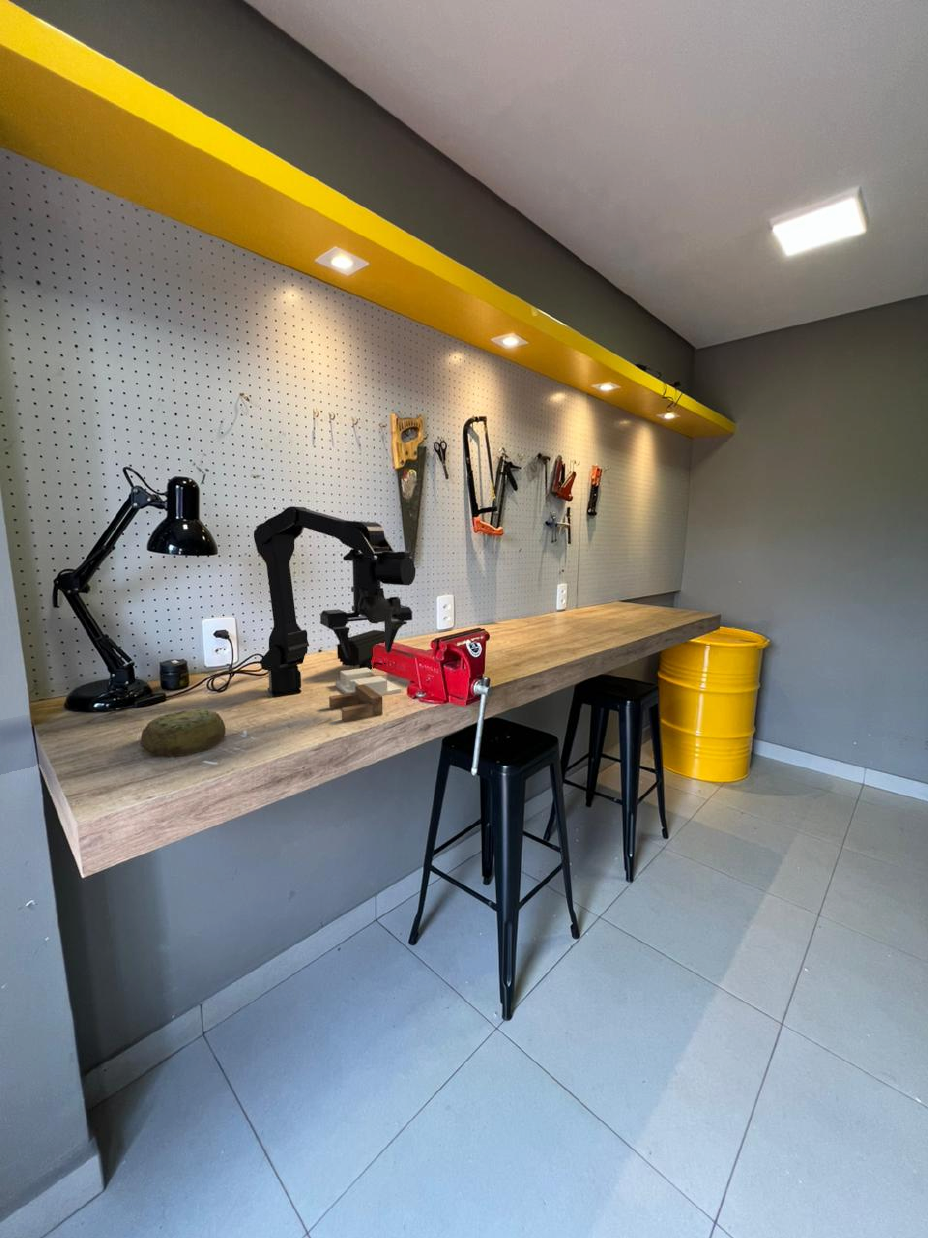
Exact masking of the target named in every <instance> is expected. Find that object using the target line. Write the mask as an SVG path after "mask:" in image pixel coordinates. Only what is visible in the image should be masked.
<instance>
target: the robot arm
mask: <svg viewBox="0 0 928 1238" xmlns="http://www.w3.org/2000/svg"><path fill="white" fill-rule="evenodd" d="M304 529H307V530H310V531H314V532H318V533H319V534H323V535H327V536H330V537H333V538H336V539H337V540H339V541H340V542H341V543H342V545H345V546H346V547H348V548H350V549H349V552H348V553H346V554H345V555H344V556H343V559H342V560H343V561H350V562H352V586H351V587H350V592H352V594H353V595H352V596H353V597H352V599H353V600H352V601H353V602H352V603H353V604H352V605H351V611H352V612H346V611H345V610H341V609H337V608H336V609H327V610H322V611H321V613H320V616H319V621H320V625H321V626H322V625H323V626H324V627H326V628H328V629H330V630H332V631H333V632H334V634H335V636H336V637H337V639H338V642H340V644H341V647H342V649H343V651H344V653H345V656H346V658H350V648H349V638H348V637H349V632H350V627H348V626H347V624H348V623H349V622H360V621H368V622H369V623H371V624H379V623H383V624H384V628H383V629H384V631H385V647H386V652H387V654H389V653H391V650H392V647H393V644H394V642H395V640H396V636H397V634H398V632H399V630H400V629H401V627H402V626H404V625H407V623H408V622H407V621H413V611H412V609H411V607H410V606H406V605H403V604H402V603H401V598H400V597H399V596H391V597H389V598H387V597H386V596H385V595H384V594H385V591H384V588H383V587H382V584H383V585H394V586H397V585H398V586H411V584H413V582H414V581H415V578H416V572H417V571H416V568H417V567H416V566H415V563H414V561H413V559H412V558H411V555H410V553H411V552H410V551H409V550H408V551H406V550H405V551H395V550H394V549H393V547H392V545H391V543H390V542H389V540H388V539H387V537H386V535H385V532H384V529H383V526H382V525H381V524H380V523H378V522H374V521H373V522H371V521H357V520H346V519H342V518H339V517H336V516H332V515H329V514H325V513H322V512H318V511H315V510H312V509H309V508H307V507H305V506H292V505H291V506H288V507H286V508H285V509H283V510H282V512H280V513H278V514H275V515H274V516H272V517H270V518H268V519H267V520H265V521H264V522H262V523H260V524H258V525H257V527H256V528H255V530H254V531H253V539H254V543H255V547H256V551H257V553H258V554H259V556H260V557H261V559H262V560H263V562H264V563H265V565H266V566H265V567H266V573H267V579H268V580H267V581H268V588H269V589H268V590H269V597H270V604H271V612H272V613H271V614H272V621H273V627H272V629H271V632H270V634H269V636H268V650H267V652H266V653H265V654H264V655H263V656H262V658H261V659H260V660H259V663H260V667H261V669H262V670H263V671H267V675H268V687H267V691H268V692H269V693H270V694H269V695H271V696H272V697H274V698H276V697H281V696H287V695H292V694H293V695H294V694H300V693H302V690H301V688H302V675H301V674H302V673H301V671H300V670H299V665H302V664H304V660H305V657H306V654H307V653H308V647H310V644H309V641H308V631H307V629H301V627H300V626H299V625H298V623H297V617H296V609H295V599H294V593H293V583H292V576H291V567H290V561H291V558H292V556H293V555H294V551H295V541H296V540H297V538H299V537H300V536H301V535H302V533H303V531H304ZM385 597H386V598H385Z"/></svg>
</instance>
